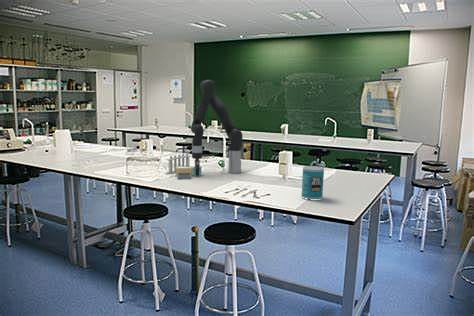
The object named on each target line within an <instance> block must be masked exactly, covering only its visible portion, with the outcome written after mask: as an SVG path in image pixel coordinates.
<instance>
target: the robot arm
mask: <svg viewBox="0 0 474 316" xmlns="http://www.w3.org/2000/svg"><path fill="white" fill-rule="evenodd" d="M199 89H200V91H201V93H202V96H201V97H202V98H201V100H200V102H199V104H198V106H197V108H196V111H195V116H194V119H193V121H192V123H191V126H190V131H191V133H192V134H194V137H193V138H192V140H191V145H192V146H191V159H194V167H196V176H195V177H198V176H197V175H199V167H201V161H200V159H201V160H202V159H203V137H204V131H205V130H204V127H203V125H202V123H203V122H205V120H206V119H205V118H206V115H207V111H208V108H209V105H210V107H211V108H212V110H213V112H214V114H215V116H216V117H217V119H218V120H219V122H220V124H221V125H222V127H223V129H224V130H225V133H226V136H227V137H228V139H229V140H230V145H229V146H228V173H229V174H241V173H242V160H241V159H242V147H243V133H242V131H241V130H240V129H237V128H235V126H234V123H232V121H231V115H230V113H229V112H230V111H228V109H227V107H226V105H225V104H224V102H223V101H222V100H221V99H220V98H219V97H218V96H217V94H216V93H215V89H216V84H215V81H214V80H212V79H205V80H202V81H201V82H200V84H199ZM197 167H198V168H197Z"/></svg>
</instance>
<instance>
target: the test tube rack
mask: <svg viewBox="0 0 474 316" xmlns="http://www.w3.org/2000/svg"><path fill="white" fill-rule="evenodd" d="M190 158H192V155H189V153H188V152H187V153H182V154H178V155H176V154H175V155H173V156H172V155H170V156H169V158H166V159H165V161H168V172H165V174H166V175H174V174H175V175H176V167H190ZM173 162H174V163H173ZM177 165H178V166H177ZM173 167H174V168H173Z"/></svg>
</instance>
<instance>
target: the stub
mask: <svg viewBox="0 0 474 316" xmlns="http://www.w3.org/2000/svg"><path fill="white" fill-rule="evenodd" d="M192 168H193V176H192V177H202V166H200V167H199V175H197V176H196V167H195V166H192ZM197 168H198V167H197Z"/></svg>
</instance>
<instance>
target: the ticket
mask: <svg viewBox="0 0 474 316" xmlns="http://www.w3.org/2000/svg"><path fill="white" fill-rule="evenodd" d="M178 173H191V177H194V176H193V166H189V167H186V166H184V167H182V166H181V167H178V166H177V167H176V173H175V177H178Z"/></svg>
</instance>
